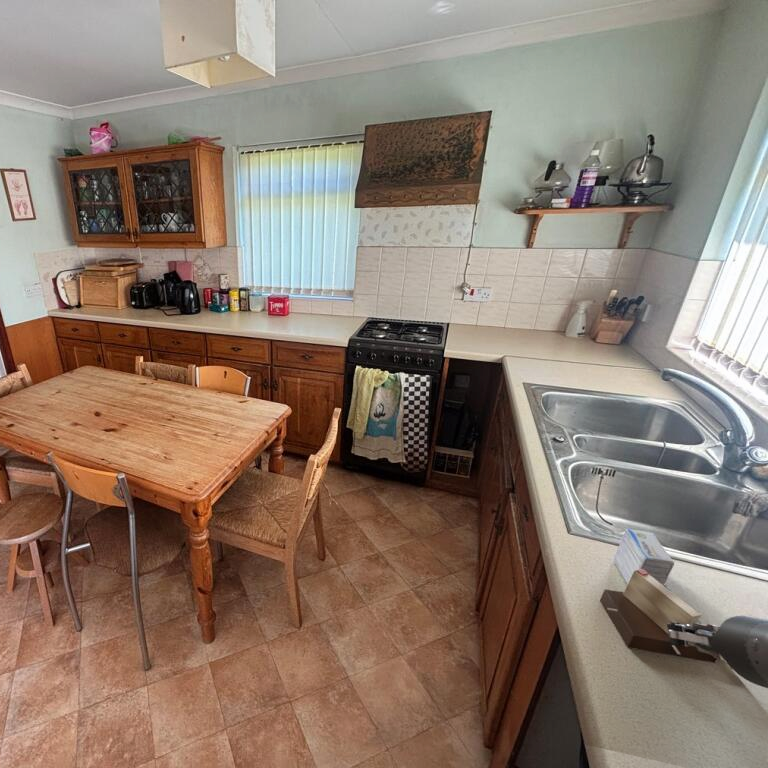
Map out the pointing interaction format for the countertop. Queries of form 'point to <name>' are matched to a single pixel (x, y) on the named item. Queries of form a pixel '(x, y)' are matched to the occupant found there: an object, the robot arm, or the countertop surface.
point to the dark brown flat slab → (644, 629)
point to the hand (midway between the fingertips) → (675, 630)
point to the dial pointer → (658, 601)
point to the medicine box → (642, 556)
